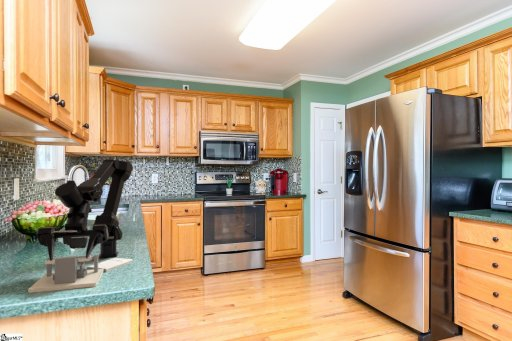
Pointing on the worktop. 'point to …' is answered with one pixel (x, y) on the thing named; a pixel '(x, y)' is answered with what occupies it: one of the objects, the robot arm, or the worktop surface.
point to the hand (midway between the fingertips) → (68, 258)
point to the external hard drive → (111, 264)
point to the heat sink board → (78, 284)
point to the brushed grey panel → (79, 259)
